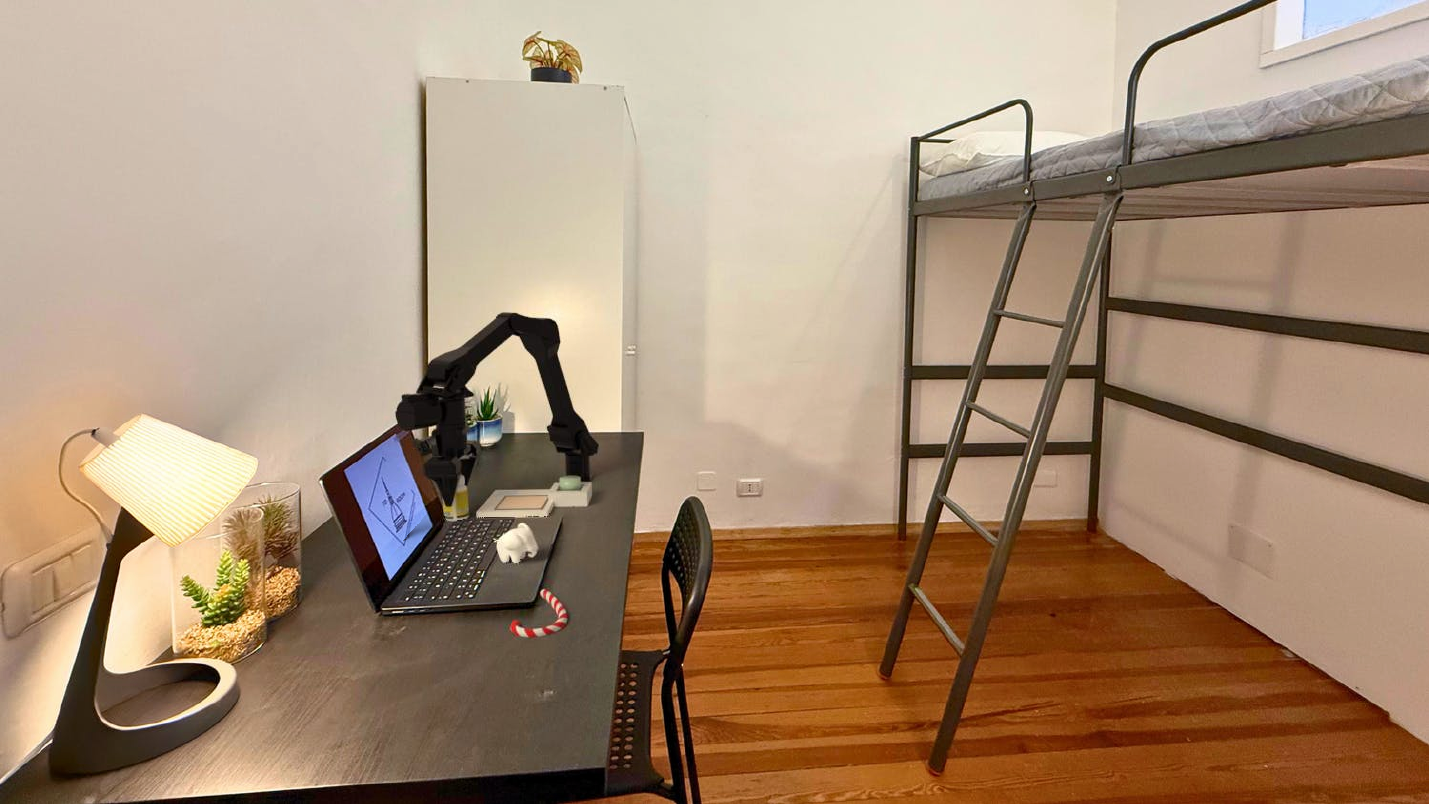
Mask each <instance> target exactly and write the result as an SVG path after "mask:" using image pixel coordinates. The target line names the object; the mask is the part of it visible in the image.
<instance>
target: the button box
mask: <svg viewBox="0 0 1429 804" xmlns="http://www.w3.org/2000/svg"><path fill="white" fill-rule="evenodd" d="M592 486H593V483H592V481H590V482H581V490H579V491H560V482H554V483H553V484H552V486H551V487H550V488H549V489H550V491H549V492H548V501H553V508H557V507H559V508H560V507H561V508H564V507H565V508H566V507H571V508H572V507H573V506H574V507H588V506H589V503H590V502H591V499H592V496H593V487H592Z"/></svg>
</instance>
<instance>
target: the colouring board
mask: <svg viewBox="0 0 1429 804" xmlns="http://www.w3.org/2000/svg"><path fill="white" fill-rule="evenodd" d="M550 489H551V488H549V489H545V488H544V489H495V490H494V491H493V493H492V494H491V495H490V496H489V497H488V498H487V499H486V500H485V502H484V503H483V504H482V505H481V506H480V507H479V509H478V510H476V519H485V518H484V517H515V518H529V517H528V516H532V517H531V518H534V517H533V516H539V517H538V518H548V517H549V515H550V514H551V512H552V510H553V509H554V507H553V501H548V492H549V491H550ZM549 513H550V514H549ZM526 516H527V517H526ZM544 516H546V517H544ZM547 516H548V517H547ZM478 517H479V518H478ZM480 517H481V518H480ZM482 517H483V518H482Z"/></svg>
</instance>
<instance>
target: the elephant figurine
mask: <svg viewBox="0 0 1429 804" xmlns="http://www.w3.org/2000/svg"><path fill="white" fill-rule="evenodd" d="M492 540H494V541H496V550H497V553H498V556H499V559H500V561H501V562H502V563H504V564H506V562H507V563H509V561H510V560H511V562H512V563H514V564H516V563H517V564H520V563H521V560H520V559H523V558H524V557H526V552H528V553H527V557H529V558H534V557H535V556H536V555H537V554H538V553H537V552H538V550H540V548H539V546H538V543H537V542H536V538H535V535H534V533H533V530H532V529H531V528H530V527H529V525H527V523H525V522H521V523H518V525H517V527H516V528H512V529H509V530H508V531H506V532H505V533H504V534H503V535H501V536H500V537H499V538H498V539H496V538H494V537H493V539H492ZM509 558H511V559H509ZM524 559H525V558H524ZM524 559H523V560H524ZM519 562H520V563H519Z"/></svg>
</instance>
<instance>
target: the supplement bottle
mask: <svg viewBox="0 0 1429 804" xmlns="http://www.w3.org/2000/svg"><path fill="white" fill-rule="evenodd" d="M464 484H465V479H464V476H463V475H461V477H460V480H459V484H458V487H457V491H456V494H455V498H454V501H453V504H452V506H451V507H446V506H445V503H444V501H443V500H442V508H443V517H444V516H445V519H446V520H447V521H446V520H445V519H444V520H445V521H446V522H458V521H457V520H462V521H464V520H463V519H465V520H467V519H468V518H469V517H470V511H469V510H470V509H469V496H468V495H469V494H468V486H467V487H466V485H464Z"/></svg>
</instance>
